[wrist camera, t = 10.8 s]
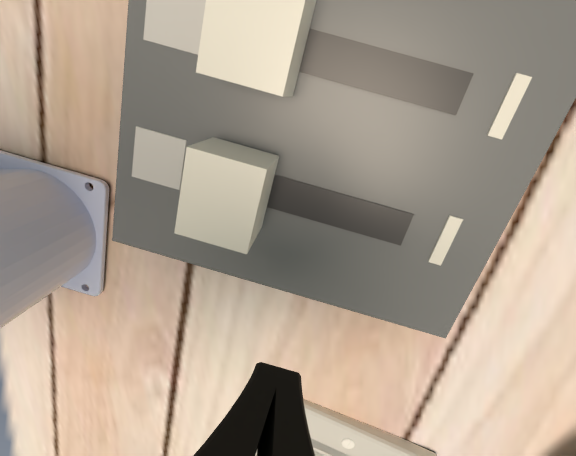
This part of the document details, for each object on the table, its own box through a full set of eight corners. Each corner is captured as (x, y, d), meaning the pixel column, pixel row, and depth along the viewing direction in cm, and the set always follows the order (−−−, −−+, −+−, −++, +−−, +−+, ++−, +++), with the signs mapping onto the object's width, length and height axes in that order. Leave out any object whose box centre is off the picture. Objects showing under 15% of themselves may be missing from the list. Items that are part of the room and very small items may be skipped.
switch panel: (141, 221, 21) (111, 241, 18) (196, -318, 13) (156, -437, 10) (430, 305, 21) (446, 339, 18) (679, -196, 12) (784, -284, 10)
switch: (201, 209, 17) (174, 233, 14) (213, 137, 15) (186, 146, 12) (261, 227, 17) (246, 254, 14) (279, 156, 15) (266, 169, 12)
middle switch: (222, 76, 14) (195, 72, 12) (239, -23, 13) (213, -55, 10) (292, 96, 14) (282, 96, 12) (316, -2, 13) (311, -27, 10)
